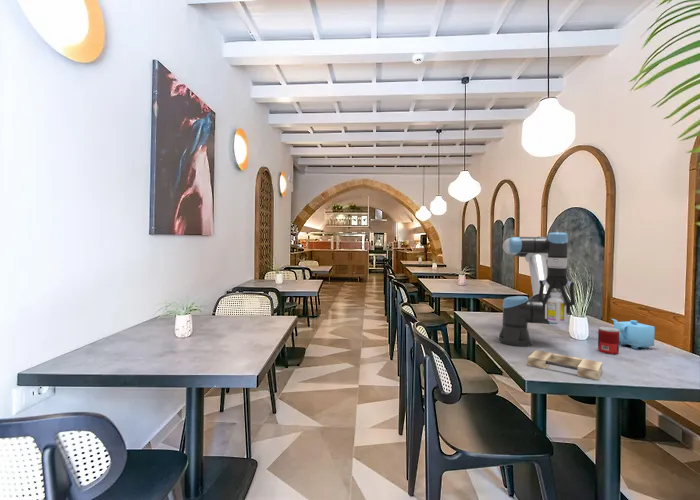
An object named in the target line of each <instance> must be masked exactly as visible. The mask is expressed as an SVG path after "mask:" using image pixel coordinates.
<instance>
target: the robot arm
mask: <svg viewBox="0 0 700 500" xmlns="http://www.w3.org/2000/svg"><path fill="white" fill-rule="evenodd" d="M568 242H569V239H568V233H566V232H549V233H548V235H547V237H546V236H513V237H508V238H507V239H506V240H504V241H503V243H502V250H503V252H504V253H506V255H509V256H512V257H517V258H524V259H525V260H524V261H526V262H527V263H528V267H529V274H530V275H529V276H530V280H531V281H530V282H531V288H532V296H531V297H530V299H529V297H528V296H524V295H516V296H514V295H513V296H507V297H505V298H504V299H503V301H502V326H501V330H500V332H499V334H498V342H499V341H500V343H501V344H504V345H509V346H513V347H514V346H515V347H528V346H531V345H532V338H531V335H530V332H529V329H528V327H529V326H528V324H542V325H543V324H544V325H557V324H559V323H554V322H549V321H548V320H547V313H548V299H549V298H551V296H550V292H553V290H554V289H558V290H560V293H562V299H564V300H565V306H564V322H566V321H568V314H570V313H571V306H575V305H576V298H575V297H576V296H575V286H576V285H575V284H576V282H574V281H570V280H568V277H567V275H568V269H567V267H568V245H569V243H568ZM567 284H568V286H569V296H570V299H569V297H568V294H567V291H566V287H565V286H566V285H567Z"/></svg>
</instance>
